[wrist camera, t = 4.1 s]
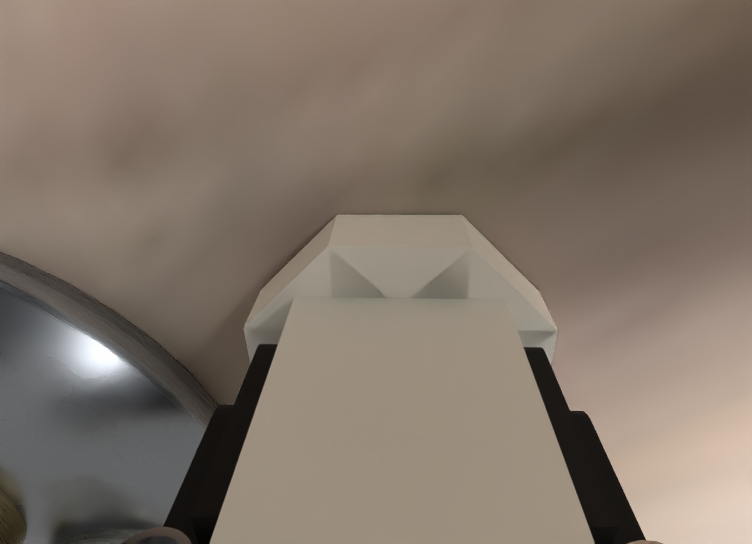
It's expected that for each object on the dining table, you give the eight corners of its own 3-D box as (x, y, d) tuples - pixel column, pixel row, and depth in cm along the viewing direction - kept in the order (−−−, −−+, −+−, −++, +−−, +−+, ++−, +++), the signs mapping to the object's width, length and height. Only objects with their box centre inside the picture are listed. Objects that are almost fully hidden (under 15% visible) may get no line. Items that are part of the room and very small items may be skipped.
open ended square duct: (552, 214, 11) (757, 499, 5) (514, 432, 14) (604, 762, 8) (249, 214, 11) (66, 481, 5) (282, 427, 14) (197, 745, 8)
